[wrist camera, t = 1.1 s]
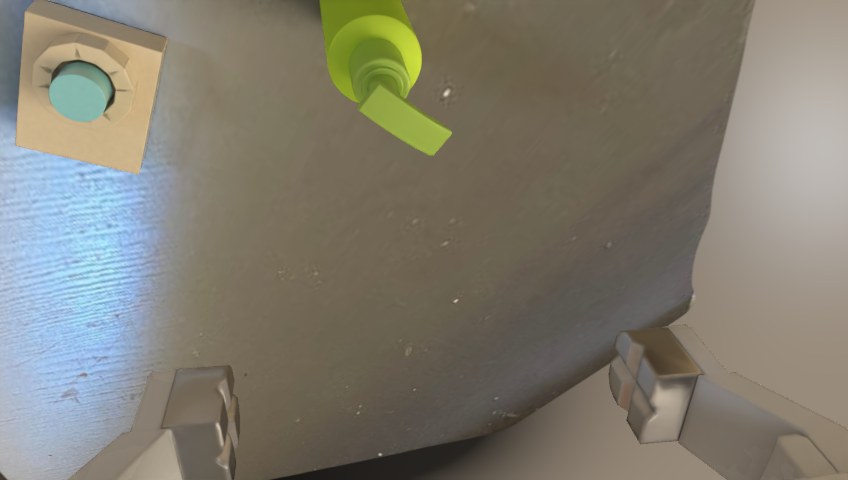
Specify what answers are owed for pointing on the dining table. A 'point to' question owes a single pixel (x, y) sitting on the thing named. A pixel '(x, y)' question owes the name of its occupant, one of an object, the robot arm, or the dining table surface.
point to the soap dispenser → (379, 67)
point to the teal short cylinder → (80, 92)
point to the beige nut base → (108, 51)
